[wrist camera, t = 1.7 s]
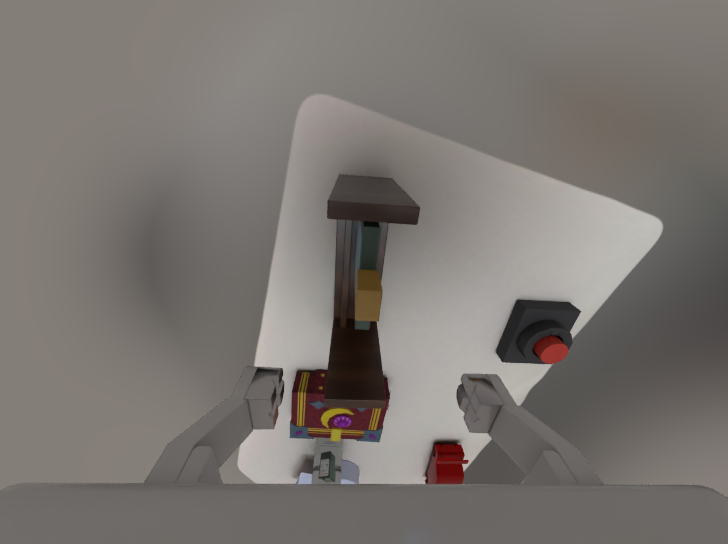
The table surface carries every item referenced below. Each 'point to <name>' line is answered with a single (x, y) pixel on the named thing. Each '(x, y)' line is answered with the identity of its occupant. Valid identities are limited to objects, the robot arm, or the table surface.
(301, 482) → the wedge on round base
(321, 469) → the ink box
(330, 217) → the window frame
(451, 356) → the table surface
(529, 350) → the switch block
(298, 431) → the decorative book
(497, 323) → the table surface
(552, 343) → the red push button
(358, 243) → the window pane
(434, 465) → the toy car
